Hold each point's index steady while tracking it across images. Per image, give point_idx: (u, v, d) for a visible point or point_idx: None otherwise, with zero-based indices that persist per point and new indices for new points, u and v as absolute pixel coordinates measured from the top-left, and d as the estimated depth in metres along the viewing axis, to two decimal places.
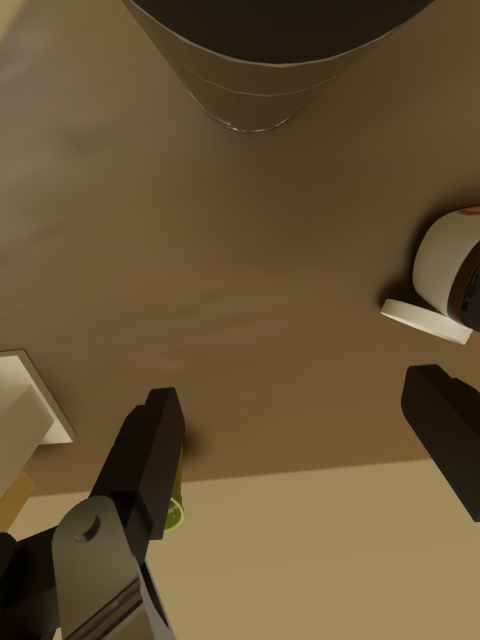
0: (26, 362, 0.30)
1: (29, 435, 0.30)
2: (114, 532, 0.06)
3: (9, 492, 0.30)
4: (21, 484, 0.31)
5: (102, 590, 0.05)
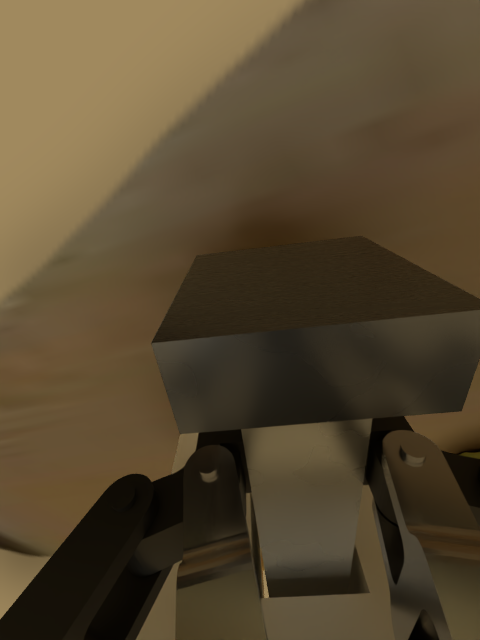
0: None
1: None
2: (231, 484, 0.06)
3: None
4: None
5: (216, 529, 0.05)
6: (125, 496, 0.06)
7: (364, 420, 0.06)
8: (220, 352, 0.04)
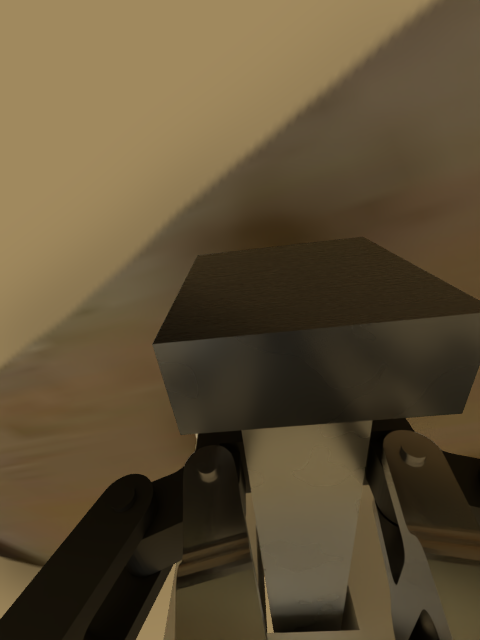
0: None
1: None
2: (231, 484, 0.06)
3: None
4: None
5: (216, 529, 0.05)
6: (125, 496, 0.06)
7: (364, 421, 0.06)
8: (221, 353, 0.04)
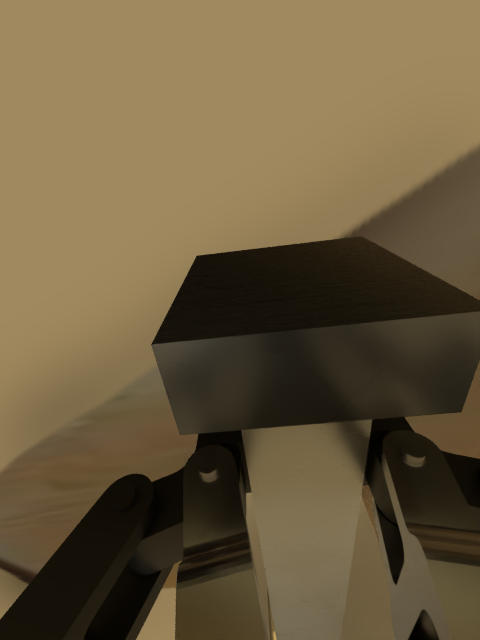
0: None
1: None
2: (231, 484, 0.06)
3: None
4: None
5: (216, 529, 0.05)
6: (125, 496, 0.06)
7: (364, 421, 0.06)
8: (220, 353, 0.04)
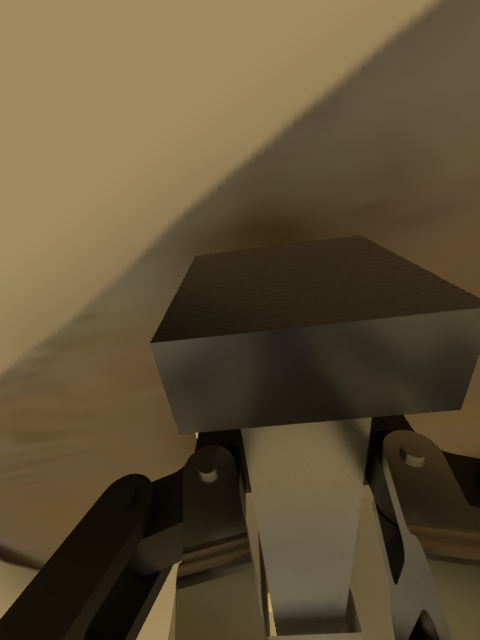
0: None
1: None
2: (231, 484, 0.06)
3: None
4: None
5: (216, 529, 0.05)
6: (125, 496, 0.06)
7: (364, 419, 0.06)
8: (219, 351, 0.04)
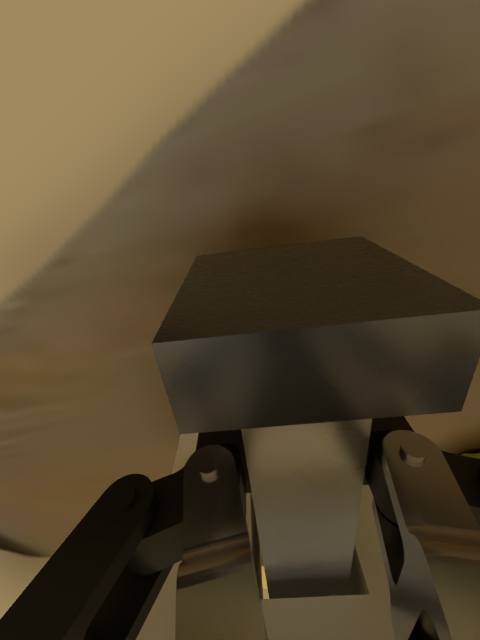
0: None
1: None
2: (231, 484, 0.06)
3: None
4: None
5: (216, 529, 0.05)
6: (125, 496, 0.06)
7: (364, 420, 0.06)
8: (220, 352, 0.04)
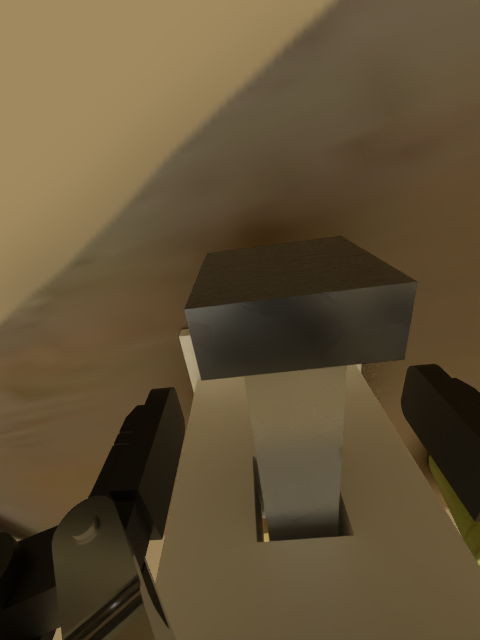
0: None
1: None
2: (114, 532, 0.06)
3: None
4: None
5: (102, 590, 0.05)
6: None
7: (340, 377, 0.08)
8: (231, 315, 0.06)
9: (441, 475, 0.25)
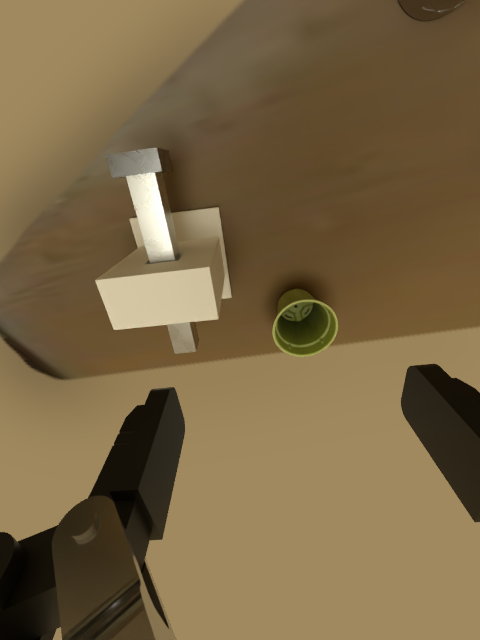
0: None
1: (222, 270, 0.41)
2: (114, 532, 0.06)
3: None
4: None
5: (102, 590, 0.05)
6: None
7: (156, 185, 0.29)
8: (116, 156, 0.27)
9: (277, 309, 0.46)
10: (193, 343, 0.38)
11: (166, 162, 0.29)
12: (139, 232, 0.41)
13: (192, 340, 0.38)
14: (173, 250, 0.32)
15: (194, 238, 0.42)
